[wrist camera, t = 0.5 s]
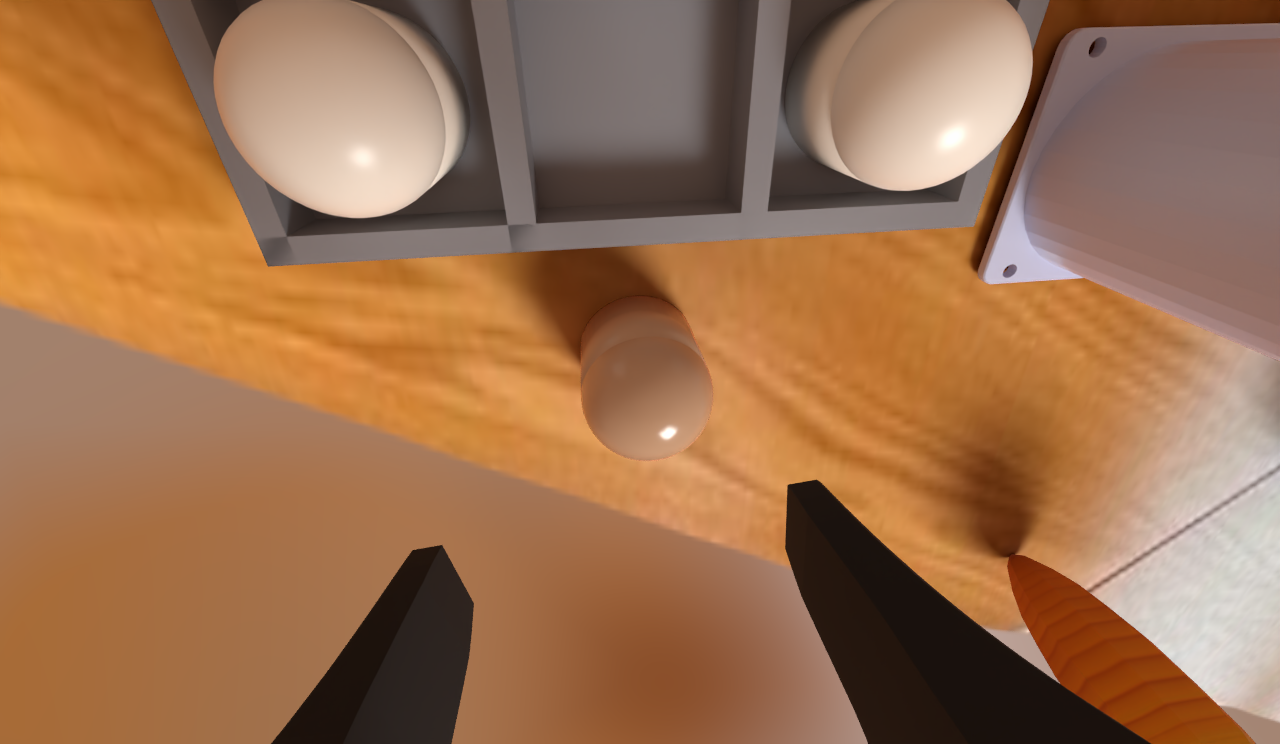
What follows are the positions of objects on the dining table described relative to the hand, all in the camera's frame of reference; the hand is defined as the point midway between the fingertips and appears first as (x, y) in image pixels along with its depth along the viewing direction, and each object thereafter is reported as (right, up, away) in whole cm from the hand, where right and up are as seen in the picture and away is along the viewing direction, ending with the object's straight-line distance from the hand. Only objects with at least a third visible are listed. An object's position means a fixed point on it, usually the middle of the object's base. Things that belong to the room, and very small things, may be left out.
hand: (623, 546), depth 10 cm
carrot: (+22, -7, +19) cm, 30 cm away
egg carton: (0, +15, +2) cm, 15 cm away
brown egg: (0, +5, +9) cm, 10 cm away
